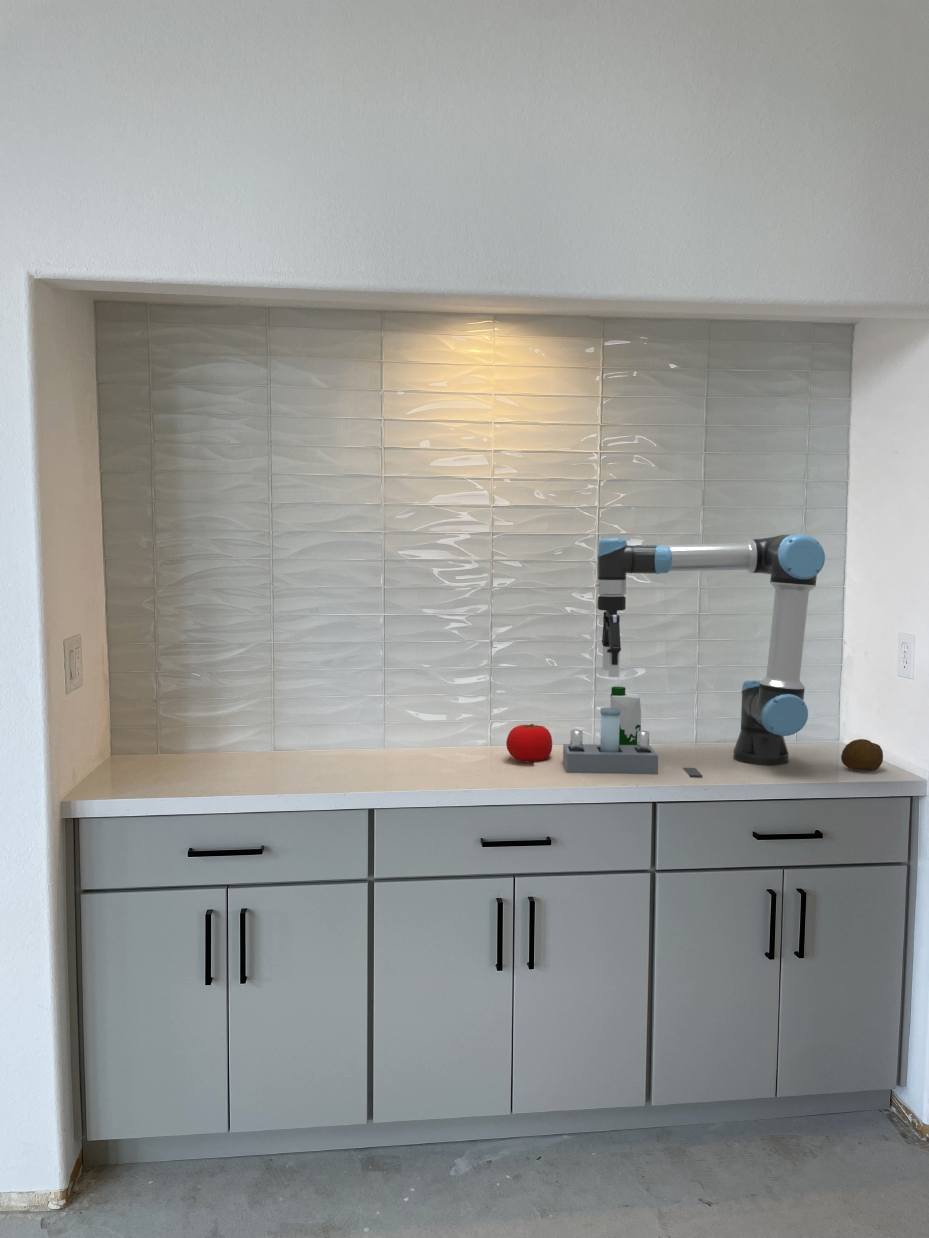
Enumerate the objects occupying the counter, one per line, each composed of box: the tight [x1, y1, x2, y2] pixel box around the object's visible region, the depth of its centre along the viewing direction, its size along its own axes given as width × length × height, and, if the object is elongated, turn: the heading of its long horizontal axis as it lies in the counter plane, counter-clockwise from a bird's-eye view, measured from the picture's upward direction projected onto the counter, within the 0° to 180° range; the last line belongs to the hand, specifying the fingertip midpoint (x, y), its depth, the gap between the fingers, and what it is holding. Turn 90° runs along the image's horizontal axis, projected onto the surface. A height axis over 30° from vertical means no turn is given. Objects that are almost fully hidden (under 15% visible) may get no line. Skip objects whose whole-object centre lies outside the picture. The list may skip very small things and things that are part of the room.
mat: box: [682, 767, 703, 779], centre depth 243 cm, size 8×8×1 cm
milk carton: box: [609, 686, 642, 745], centre depth 262 cm, size 9×9×20 cm
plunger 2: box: [637, 730, 650, 753], centre depth 243 cm, size 3×3×7 cm
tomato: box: [505, 723, 553, 763], centre depth 255 cm, size 14×13×10 cm
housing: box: [562, 743, 659, 775], centre depth 244 cm, size 24×12×6 cm, turn 89°
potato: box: [840, 738, 884, 772], centre depth 248 cm, size 8×12×9 cm
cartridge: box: [599, 707, 621, 752], centre depth 243 cm, size 5×5×16 cm
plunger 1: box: [569, 729, 584, 752], centre depth 244 cm, size 3×3×7 cm
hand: (610, 673), depth 245 cm, fingers open, 13 cm apart
